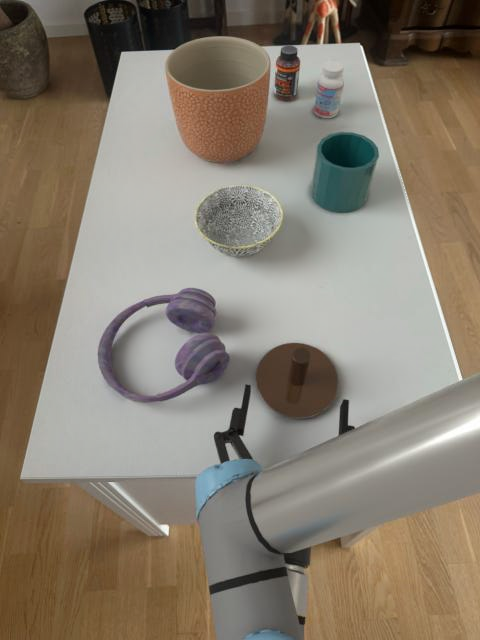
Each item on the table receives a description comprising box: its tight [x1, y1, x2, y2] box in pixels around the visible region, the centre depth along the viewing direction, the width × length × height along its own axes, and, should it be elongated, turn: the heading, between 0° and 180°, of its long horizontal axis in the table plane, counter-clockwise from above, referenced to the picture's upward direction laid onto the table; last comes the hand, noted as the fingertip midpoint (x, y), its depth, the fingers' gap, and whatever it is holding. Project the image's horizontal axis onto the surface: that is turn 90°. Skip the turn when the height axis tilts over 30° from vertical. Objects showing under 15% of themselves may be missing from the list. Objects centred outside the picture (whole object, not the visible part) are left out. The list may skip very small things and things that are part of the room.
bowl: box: [194, 184, 284, 257], centre depth 83 cm, size 16×16×8 cm
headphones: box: [97, 287, 230, 403], centre depth 70 cm, size 18×8×20 cm
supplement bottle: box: [273, 44, 301, 102], centre depth 109 cm, size 6×6×11 cm
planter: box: [164, 35, 272, 164], centre depth 95 cm, size 21×21×19 cm
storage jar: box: [310, 131, 380, 214], centre depth 89 cm, size 12×12×10 cm
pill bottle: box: [313, 60, 345, 119], centre depth 104 cm, size 6×6×11 cm
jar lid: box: [255, 342, 339, 420], centre depth 66 cm, size 13×13×9 cm
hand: (295, 395), depth 62 cm, fingers open, 13 cm apart
